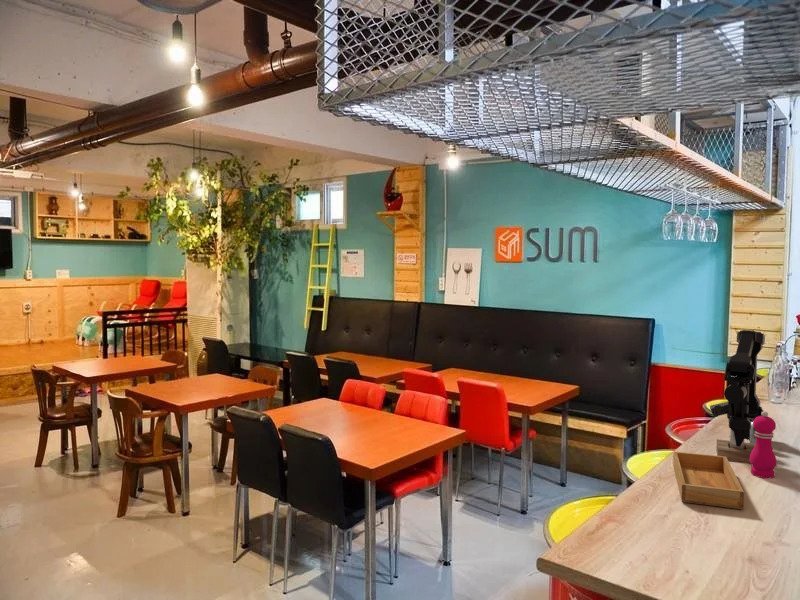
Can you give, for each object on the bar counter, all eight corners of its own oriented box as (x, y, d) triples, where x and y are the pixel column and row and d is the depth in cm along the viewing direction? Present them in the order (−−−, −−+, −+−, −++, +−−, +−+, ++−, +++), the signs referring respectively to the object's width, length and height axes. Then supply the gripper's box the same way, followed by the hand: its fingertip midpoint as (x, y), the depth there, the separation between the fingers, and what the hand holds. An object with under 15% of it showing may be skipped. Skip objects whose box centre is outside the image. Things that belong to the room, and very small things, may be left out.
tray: (672, 466, 191) (673, 449, 191) (725, 472, 186) (726, 455, 185) (681, 504, 163) (681, 484, 162) (743, 512, 157) (744, 491, 157)
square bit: (729, 452, 203) (730, 426, 202) (743, 454, 201) (743, 428, 201) (730, 456, 200) (730, 430, 199) (743, 457, 198) (744, 431, 197)
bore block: (716, 447, 208) (716, 439, 208) (755, 452, 203) (756, 443, 203) (717, 458, 198) (717, 449, 197) (759, 463, 192) (759, 454, 192)
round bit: (749, 444, 211) (749, 420, 210) (762, 446, 209) (763, 421, 208) (749, 448, 207) (750, 423, 207) (763, 449, 205) (764, 424, 205)
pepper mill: (768, 470, 186) (771, 408, 184) (781, 479, 179) (783, 414, 177) (744, 470, 186) (746, 408, 185) (756, 478, 179) (758, 414, 178)
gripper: (711, 388, 211) (710, 431, 212) (712, 400, 194) (711, 447, 195) (747, 391, 206) (745, 435, 207) (751, 404, 189) (750, 451, 190)
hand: (737, 442), depth 200 cm, fingers open, 9 cm apart
